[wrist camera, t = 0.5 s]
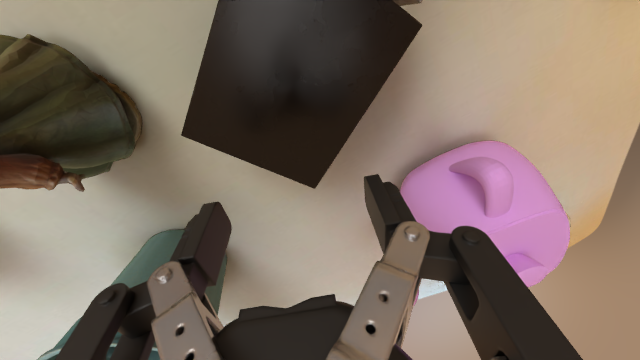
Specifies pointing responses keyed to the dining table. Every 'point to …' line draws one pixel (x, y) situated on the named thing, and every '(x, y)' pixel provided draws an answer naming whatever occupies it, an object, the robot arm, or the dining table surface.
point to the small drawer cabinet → (293, 79)
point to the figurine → (58, 117)
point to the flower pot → (139, 271)
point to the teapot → (492, 204)
